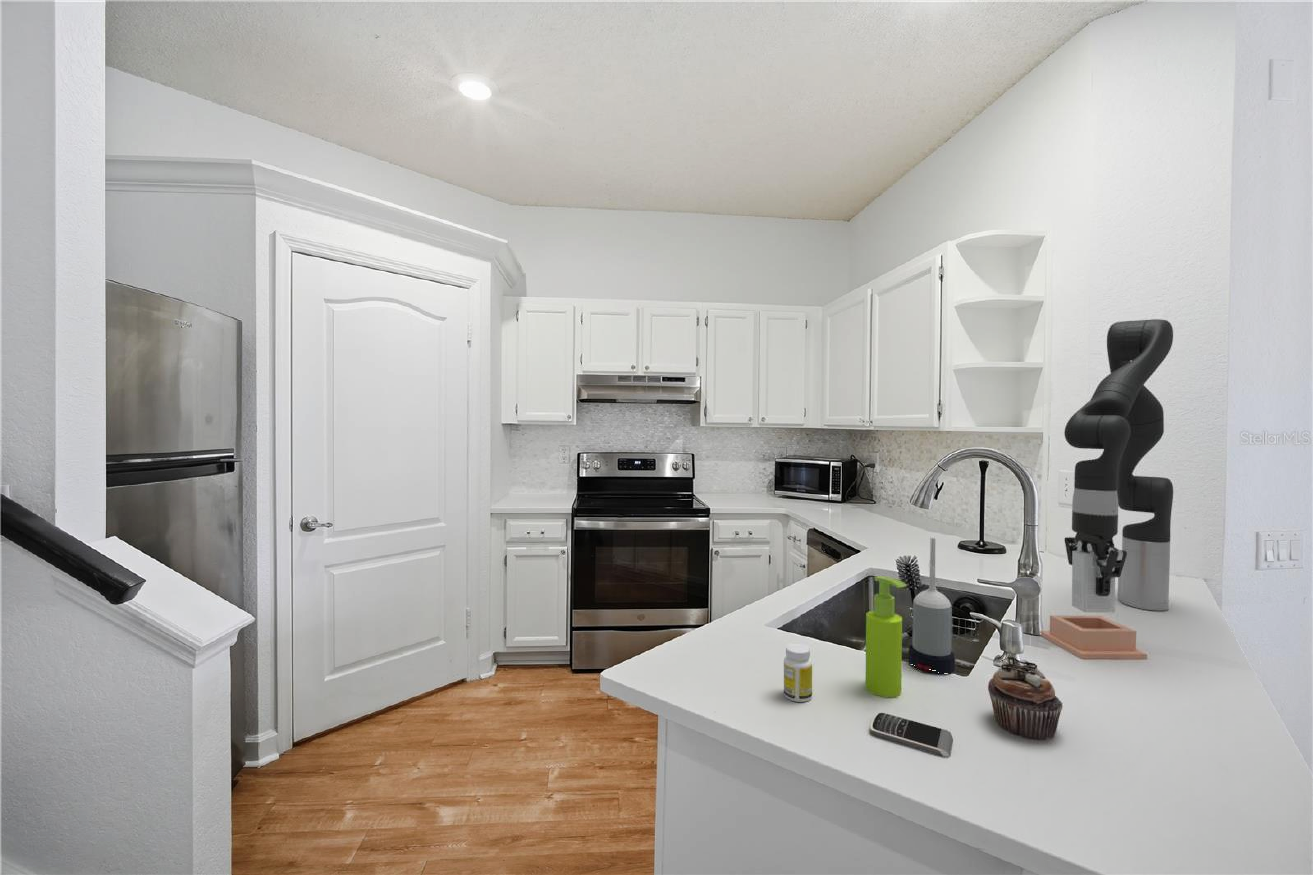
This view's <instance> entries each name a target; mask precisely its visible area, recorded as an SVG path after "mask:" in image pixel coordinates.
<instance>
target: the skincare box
mask: <svg viewBox="0 0 1313 875" xmlns="http://www.w3.org/2000/svg"><path fill="white" fill-rule="evenodd" d="M1107 560H1108V557H1107V559H1105V560H1098V561H1099V562H1107ZM1071 566H1072V567H1071V569H1072V570H1071V571H1072V572H1071V606H1072V607H1073V608H1076V609H1077V610H1080V611H1081V612H1083V613H1110V614H1113V613H1115V612H1116V611H1115V610H1116V608H1115V605H1116V598H1115V597H1116V577H1114V578H1111V581H1110V594H1109V595H1108V596H1099V595H1097V594H1096V577H1097V574H1096V570H1095V566H1093V555H1091V554H1090V553H1087V552H1081V551H1072V565H1071ZM1114 569H1115V568H1113V570H1112V571H1114ZM1104 570H1105V566H1102V571H1103V572H1104Z"/></svg>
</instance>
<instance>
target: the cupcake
mask: <svg viewBox="0 0 1313 875" xmlns="http://www.w3.org/2000/svg"><path fill="white" fill-rule="evenodd" d="M1020 664H1023V665H1020ZM987 691H988V695H989V697H990V701H991V705H992V709H993V716H994V719H995V722H996V724H997V725H998V726H999V727H1000V728H1001V729H1003V730H1004V731H1006V732H1008V733H1010V734H1012V735H1015V736H1019V737H1021V738H1025V739H1029V740H1033V741H1034V740H1037V741H1044V740H1046V741H1047V740H1049V739H1052V738H1054V737H1055V735H1056V731H1057V728H1058V726H1059V725H1058V724H1059V721H1060V720H1059V719H1060V717H1061V712H1062V709H1063V708H1064V707H1063V702H1062V701H1061V700H1060V699H1059V697H1057V696H1056V691H1055V688H1054V686H1053V684H1052V683H1051V681H1049V680H1048V679H1047V678H1046V677H1045V674H1044V672H1042V671H1041V670H1040V669H1039V668H1038V665H1037V664H1036V663H1034V662H1028V661H1026V662H1025V661H1021V660H1018V659H1017V658H1015V657H1014V656H1008V657H1006V659H1004V660H1002V664H1001V665H1000V666H999V667H998V669H997V670H996V671H995V672H994V674H993V675H992V678H991V679H990V680H989V681H988V685H987Z"/></svg>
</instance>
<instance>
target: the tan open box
mask: <svg viewBox="0 0 1313 875" xmlns="http://www.w3.org/2000/svg"><path fill="white" fill-rule="evenodd" d="M1039 633H1041V637H1042V636H1043V637H1042V638H1044V639H1046V640H1048V641H1050V642H1051V643H1053V644H1055V645H1056V646H1058V647H1060V648H1061V649H1063V650H1065V651H1067V652H1068V653H1071V654H1072V655H1074V656H1075V657H1078V658H1079V659H1081V660H1148V654H1147V653H1146V652H1144V651H1141V650H1140V649H1138V648H1137V631H1136V630H1134V629H1132V628H1129V627H1127V626H1125V625H1123V624H1121V623H1118V622H1116V621H1113V620H1111V619H1109V618H1107V617H1105V616H1103V615H1049V630H1040V631H1039Z"/></svg>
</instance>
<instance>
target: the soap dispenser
mask: <svg viewBox="0 0 1313 875" xmlns="http://www.w3.org/2000/svg"><path fill="white" fill-rule="evenodd" d="M874 581H876V582H879V583H878V584H879V585H878V586H879V587H878V588H879V589H878V593H876V594H874V596H873V610H870V611H868V612H866V614H865V615H866V616H865V619H866V620H865V684H864V685H865V689H866V690H867V691H868V692H869V693H871V694H873V695H875V696H879V697H883V698H896V697H899V696H900V695H901V694H902V675H903V674H902V671H903V670H902V667H903V666H902V664H903V662H902V661H903V660H902V659H903V657H902V656H903V649H902V648H903V617H902V616H901V615H899V614H897V613H895V607H896V606H895V603H896V602H895V600H896V598H895V596H893V595H892V594H891V593H890V592H891V591H890V589H891V588H890V586H893V587H895V588H897V589H898V590H899V589H904V588H906V587H908V584H906V583H905V582H903V581H901V580H899V579H897V578H894V577H891V576H884V575H878V576H874Z"/></svg>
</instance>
